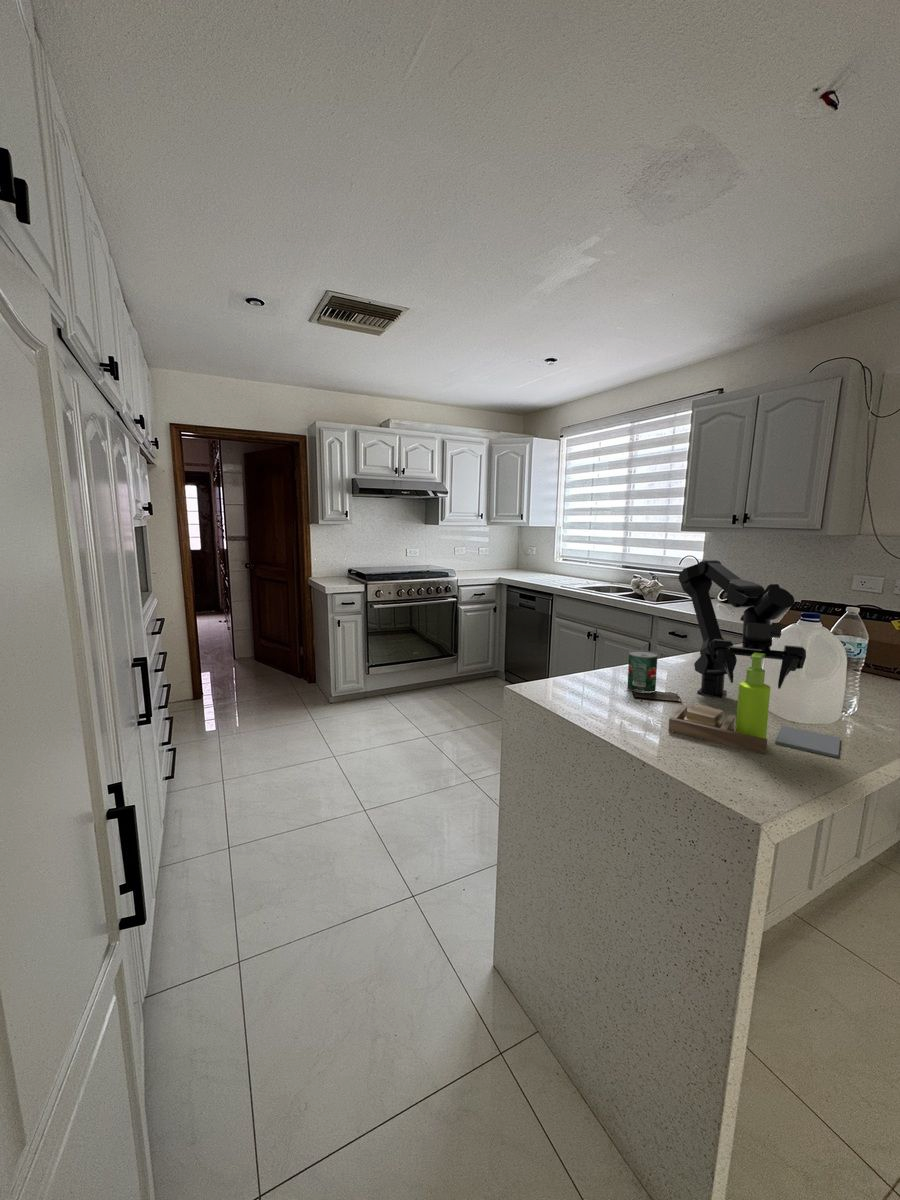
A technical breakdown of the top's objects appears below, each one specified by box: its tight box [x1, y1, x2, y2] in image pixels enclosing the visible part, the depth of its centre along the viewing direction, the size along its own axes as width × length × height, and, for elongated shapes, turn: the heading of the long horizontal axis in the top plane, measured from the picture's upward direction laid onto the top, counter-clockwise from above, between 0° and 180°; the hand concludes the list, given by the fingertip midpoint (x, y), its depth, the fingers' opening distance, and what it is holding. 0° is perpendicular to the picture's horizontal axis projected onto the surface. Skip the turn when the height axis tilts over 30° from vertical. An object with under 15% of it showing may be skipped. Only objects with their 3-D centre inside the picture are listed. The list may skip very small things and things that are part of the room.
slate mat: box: [774, 725, 841, 759], centre depth 109 cm, size 11×11×1 cm
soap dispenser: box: [734, 652, 771, 739], centre depth 109 cm, size 6×7×20 cm
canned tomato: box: [626, 649, 658, 692], centre depth 144 cm, size 8×8×11 cm
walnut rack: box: [668, 705, 768, 755], centre depth 113 cm, size 11×20×3 cm, turn 50°
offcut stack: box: [684, 704, 724, 728], centre depth 116 cm, size 8×7×4 cm
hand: (755, 684), depth 112 cm, fingers open, 9 cm apart
